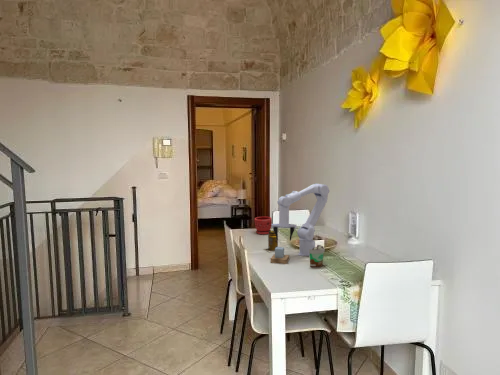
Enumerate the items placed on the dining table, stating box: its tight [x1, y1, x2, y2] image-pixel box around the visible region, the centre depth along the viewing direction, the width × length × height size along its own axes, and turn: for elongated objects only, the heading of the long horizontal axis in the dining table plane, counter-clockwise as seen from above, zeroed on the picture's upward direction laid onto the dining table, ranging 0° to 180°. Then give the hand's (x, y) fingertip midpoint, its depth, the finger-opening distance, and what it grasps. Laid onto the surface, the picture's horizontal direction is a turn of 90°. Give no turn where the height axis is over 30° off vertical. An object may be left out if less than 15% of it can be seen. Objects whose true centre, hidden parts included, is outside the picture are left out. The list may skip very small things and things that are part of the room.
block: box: [274, 246, 285, 258], centre depth 208 cm, size 4×4×5 cm
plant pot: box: [254, 216, 273, 236], centre depth 278 cm, size 13×13×12 cm
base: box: [270, 253, 290, 265], centre depth 208 cm, size 9×9×2 cm
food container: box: [309, 244, 326, 268], centre depth 198 cm, size 12×6×10 cm, turn 148°
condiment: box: [263, 230, 279, 253], centre depth 231 cm, size 7×8×12 cm
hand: (283, 240), depth 214 cm, fingers open, 7 cm apart
